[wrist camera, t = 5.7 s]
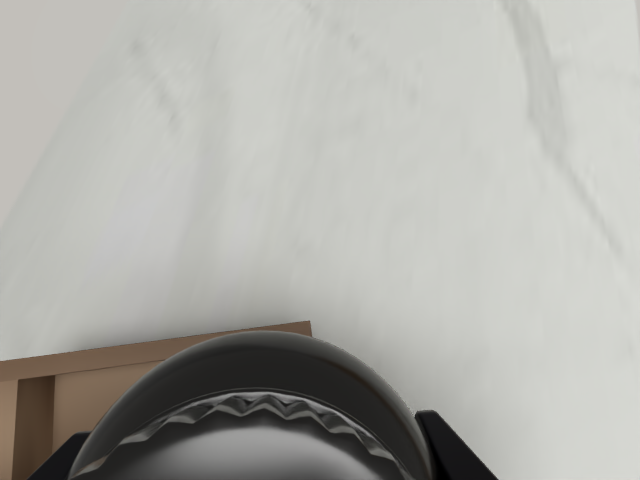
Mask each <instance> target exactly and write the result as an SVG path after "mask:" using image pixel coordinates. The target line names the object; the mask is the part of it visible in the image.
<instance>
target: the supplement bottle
mask: <svg viewBox="0 0 640 480" xmlns="http://www.w3.org/2000/svg"><path fill="white" fill-rule="evenodd" d="M65 480H442V478H441V475H440V472H439V469H438V466H437V463H436V460H435V458H434V455H433V453H432V450H431V448H430V446H429V443H428V441H427V439H426V437H425V435H424V433H423V432H422V430H421V428H420V426H419V424H418V422H417V421H416V419H415V418H414V416H413V415H412V413H411V411H410V410H409V408H408V407H407V406H406V404H405V403H404V402H403V400H402V399H401V398H400V397H399V395H398V394H397V393H396V392H395V391H394V390H393V389H392V387H391V386H390V385H389V384H388V383H387V382H386V381H385V380H384V379H383V378H382V377H381V376H379V375H378V374H377V373H376V372H375V371H374V370H373V369H372V368H370V367H369V366H367V365H366V364H365V363H363V362H362V361H361V360H359V359H358V358H356V357H355V356H353V355H351V354H349V353H348V352H346V351H344V350H343V349H340V348H338V347H336V346H334V345H332V344H330V343H327V342H324V341H322V340H319V339H316V338H313V337H309V336H305V335H301V334H296V333H290V332H282V331H247V332H239V333H233V334H228V335H224V336H220V337H216V338H213V339H209V340H206V341H204V342H201V343H198V344H196V345H193V346H191V347H189V348H187V349H185V350H183V351H181V352H178V353H176V354H175V355H173V356H171V357H170V358H168V359H166V360H165V361H163V362H161V363H160V364H158V365H157V366H155V367H154V368H153V369H151V370H150V371H149V372H147V373H146V374H144V375H143V376H142V377H141V378H140V379H139V380H137V381H136V382H135V383H134V384H133V385H132V386H130V387H129V388H128V389H127V390H126V391H125V392H124V393H123V394H122V395H121V396H120V397H119V398H118V399H117V400H116V402H115V403H114V404H113V405H112V406H111V407H110V408H109V409H108V411H107V412H106V413H105V414H104V416H103V417H102V418H101V419H100V420H99V422H98V423H97V424H96V426H95V427H94V429H93V430H92V432H91V433H90V434H89V436H88V437H87V439H86V440H85V442H84V444H83V445H82V447H81V449H80V451H79V452H78V454H77V456H76V458H75V459H74V461H73V463H72V465H71V467H70V469H69V472H68V474H67V476H66V478H65Z"/></svg>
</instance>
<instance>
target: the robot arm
mask: <svg viewBox="0 0 640 480" xmlns="http://www.w3.org/2000/svg"><path fill="white" fill-rule="evenodd" d="M415 419H416V421H417V422H418V424H419V426H420V428H421V430H422V432H423V433H424V435H425V437H426V439H427V441H428V443H429V446H430V448H431V450H432V453H433V455H434V458H435V460H436V463H437V466H438V469H439V472H440V475H441V478H442V480H498V479H497V477H496V476H495V475H494V474H493V473H492V472H491V471H490V470H489V469H488V468H487V467H486V465H485V464H484V463H483V462H482V461H481V460H480V459H479V458H478V457H477V456H476V455H475V453H474V452H473V451H472V450H471V449H470V448H469V447H468V446H467V445H466V444H465V442H464V441H463V440H462V439H461V438H460V437H459V436H458V435H457V434H456V433H455V432H454V430H453V429H452V428H451V427H450V426H449V425H448V424H447V423H446V422H445V421H444V420H443V418H442V417H441V416H440V415H439V414H438V413H437V412H436V411H434V410H423V411H417V412H416V414H415ZM91 432H92V431H79V432H76V433H75V434H73V435H72V436H71V437H70V438H69V439H68V440H67V441H66V442H65V443H63V444H62V445H61V446H60V447H59V448H58V449H57V450H56V451H55V452H54V453H53V454H52V455H51V456H50V457H49V458H48V459H47V460H46V461H45V462H44V463H43V464H42V465H41V466H40V467H39V468H38V469H37V470H36V471H34V472H33V473H32V474H31V475H30V476H29V477H28V478H27V479H26V480H65V478H66V476H67V474H68V472H69V469H70V467H71V465H72V463H73V461H74V459H75V458H76V456H77V454H78V452H79V451H80V449H81V447H82V445H83V444H84V442H85V440H86V439H87V437H88V436H89V434H90V433H91Z"/></svg>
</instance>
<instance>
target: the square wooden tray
mask: <svg viewBox="0 0 640 480" xmlns="http://www.w3.org/2000/svg"><path fill="white" fill-rule="evenodd" d="M247 331H282V332H290V333H296V334H301V335H305V336H309V337H312V332H311V324H310V321H303V322H295V323H287V324H280V325H272V326H265V327H257V328H249V329H242V330H234V331H227V332H219V333H211V334H204V335H196V336H189V337H181V338H173V339H166V340H158V341H151V342H143V343H135V344H128V345H120V346H113V347H105V348H97V349H90V350H82V351H75V352H67V353H59V354H52V355H44V356H37V357H29V358H21V359H14V360H6V361H0V480H26V479H27V478H28V477H29V476H30V475H31V474H32V473H33V472H34V471H36V470H37V469H38V468H39V467H40V466H41V465H42V464H43V463H44V462H45V461H46V460H47V459H48V458H49V457H50V456H51V455H52V454H53V453H54V452H55V451H56V450H57V449H58V448H59V447H60V446H61V445H62V444H63V443H65V442H66V441H67V440H68V439H69V438H70V437H71V436H72V435H73V434H75V433H76V432H79V431H92V430H93V429H94V427H95V426H96V424H97V423H98V422H99V420H100V419H101V418H102V417H103V416H104V414H105V413H106V412H107V411H108V409H109V408H110V407H111V406H112V405H113V404H114V403H115V402H116V400H117V399H118V398H119V397H120V396H121V395H122V394H123V393H124V392H125V391H126V390H127V389H128V388H129V387H130V386H132V385H133V384H134V383H135V382H136V381H137V380H139V379H140V378H141V377H142V376H143V375H144V374H146V373H147V372H149V371H150V370H151V369H153V368H154V367H155V366H157V365H158V364H160V363H161V362H163V361H165V360H166V359H168V358H170V357H171V356H173V355H175V354H176V353H178V352H181V351H183V350H185V349H187V348H189V347H191V346H193V345H196V344H198V343H201V342H204V341H206V340H209V339H213V338H216V337H220V336H224V335H228V334H233V333H239V332H247Z"/></svg>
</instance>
